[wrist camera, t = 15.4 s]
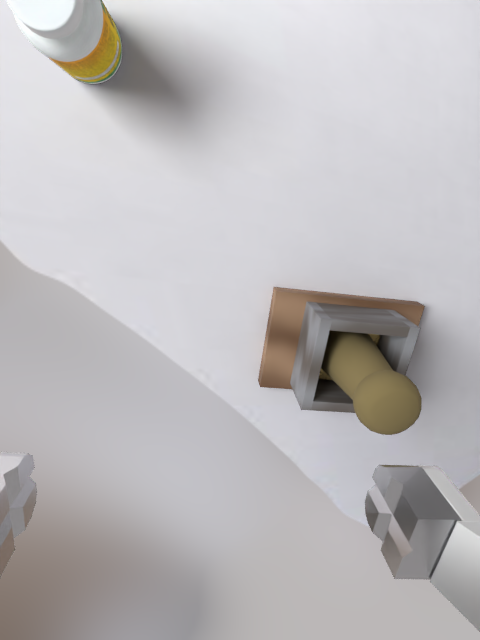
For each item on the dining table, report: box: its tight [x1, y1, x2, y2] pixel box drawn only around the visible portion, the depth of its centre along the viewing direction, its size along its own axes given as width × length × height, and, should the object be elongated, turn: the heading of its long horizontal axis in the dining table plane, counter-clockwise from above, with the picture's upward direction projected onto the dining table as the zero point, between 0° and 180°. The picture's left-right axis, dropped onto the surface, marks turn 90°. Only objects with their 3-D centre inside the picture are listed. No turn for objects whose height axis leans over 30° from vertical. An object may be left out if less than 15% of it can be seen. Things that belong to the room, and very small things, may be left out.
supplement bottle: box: [6, 0, 122, 84], centre depth 24 cm, size 5×5×10 cm
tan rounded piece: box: [321, 331, 421, 435], centre depth 33 cm, size 6×6×11 cm
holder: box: [258, 287, 425, 413], centre depth 37 cm, size 11×16×6 cm
